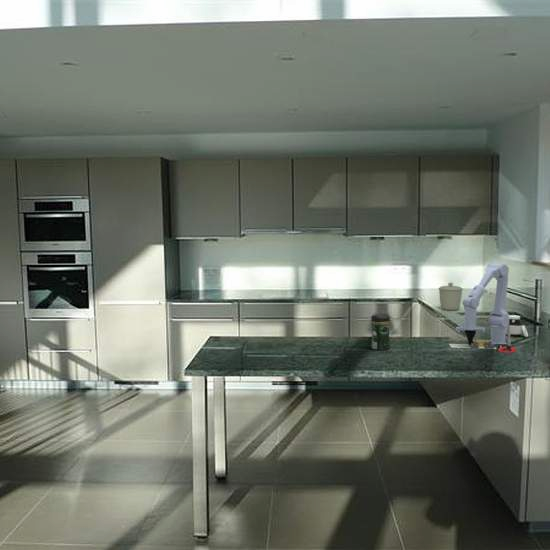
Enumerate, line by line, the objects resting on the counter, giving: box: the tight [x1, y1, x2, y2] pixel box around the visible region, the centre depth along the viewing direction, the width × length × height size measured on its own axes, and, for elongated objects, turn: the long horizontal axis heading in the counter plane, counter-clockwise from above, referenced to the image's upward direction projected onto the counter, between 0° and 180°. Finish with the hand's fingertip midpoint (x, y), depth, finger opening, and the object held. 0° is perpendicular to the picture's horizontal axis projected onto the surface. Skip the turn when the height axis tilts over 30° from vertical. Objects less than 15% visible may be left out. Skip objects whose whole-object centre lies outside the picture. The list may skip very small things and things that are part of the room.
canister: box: [438, 282, 464, 311], centre depth 431 cm, size 18×18×21 cm
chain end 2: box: [483, 341, 497, 349], centre depth 299 cm, size 8×6×2 cm
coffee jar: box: [370, 313, 391, 351], centre depth 298 cm, size 10×8×19 cm
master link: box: [472, 338, 490, 347], centre depth 299 cm, size 3×8×4 cm, turn 80°
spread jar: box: [505, 314, 529, 338], centre depth 328 cm, size 12×11×12 cm
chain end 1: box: [470, 343, 480, 349], centre depth 300 cm, size 8×4×2 cm, turn 170°
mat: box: [448, 343, 498, 350], centre depth 301 cm, size 9×23×1 cm, turn 80°
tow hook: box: [497, 326, 517, 354], centre depth 289 cm, size 8×13×9 cm
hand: (469, 344), depth 300 cm, fingers closed
